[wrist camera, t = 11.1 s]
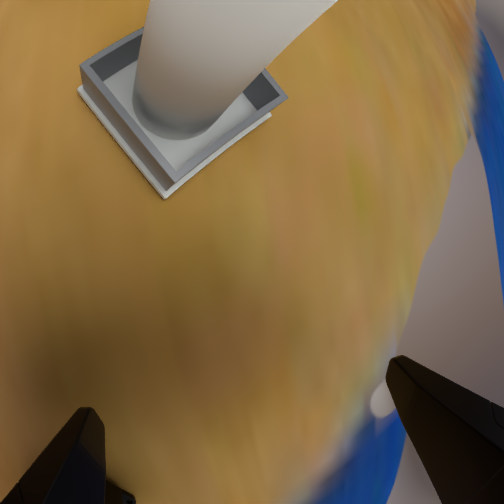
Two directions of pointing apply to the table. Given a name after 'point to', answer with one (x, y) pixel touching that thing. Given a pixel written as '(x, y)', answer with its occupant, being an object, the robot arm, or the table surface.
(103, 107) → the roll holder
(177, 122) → the paper towel roll
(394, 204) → the table surface
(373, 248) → the table surface
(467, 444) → the robot arm
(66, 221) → the table surface
